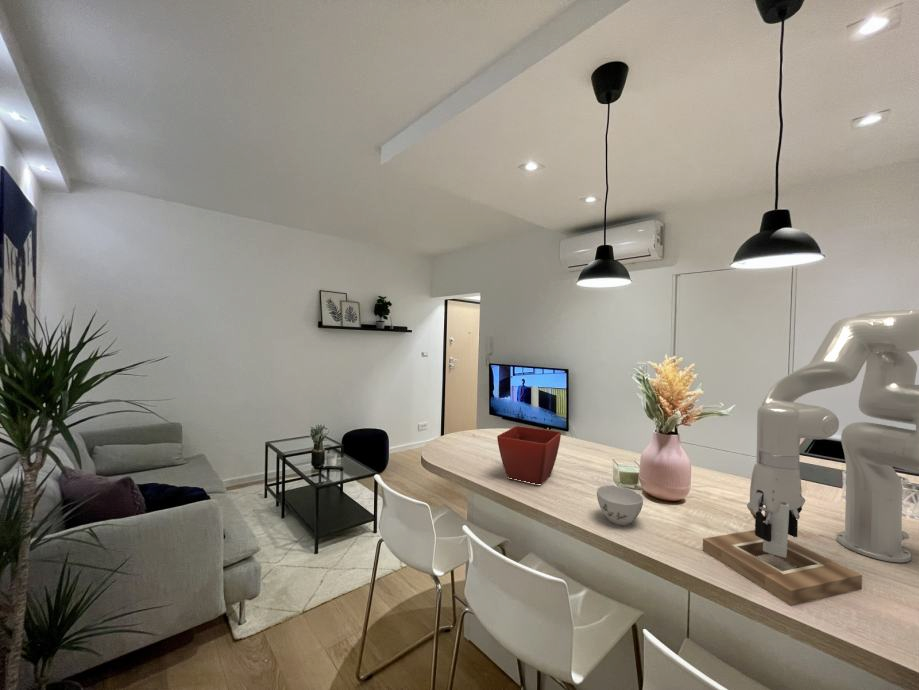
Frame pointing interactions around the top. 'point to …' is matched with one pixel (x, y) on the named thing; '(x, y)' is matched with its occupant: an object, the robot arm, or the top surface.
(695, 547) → the top surface
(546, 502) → the top surface
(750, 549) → the picture frame
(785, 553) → the skincare box
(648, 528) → the top surface
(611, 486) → the teacup
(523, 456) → the plant pot
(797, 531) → the robot arm
